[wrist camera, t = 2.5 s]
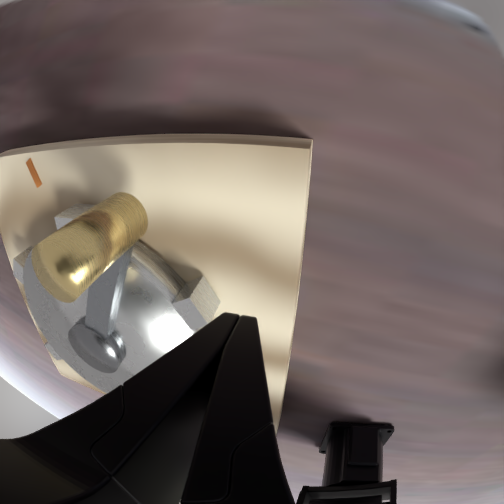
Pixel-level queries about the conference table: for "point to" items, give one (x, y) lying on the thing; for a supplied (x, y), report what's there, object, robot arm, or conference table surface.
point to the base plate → (184, 217)
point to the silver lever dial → (109, 293)
